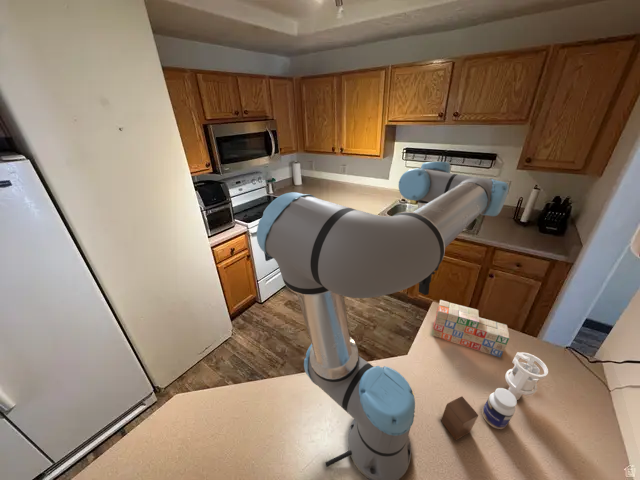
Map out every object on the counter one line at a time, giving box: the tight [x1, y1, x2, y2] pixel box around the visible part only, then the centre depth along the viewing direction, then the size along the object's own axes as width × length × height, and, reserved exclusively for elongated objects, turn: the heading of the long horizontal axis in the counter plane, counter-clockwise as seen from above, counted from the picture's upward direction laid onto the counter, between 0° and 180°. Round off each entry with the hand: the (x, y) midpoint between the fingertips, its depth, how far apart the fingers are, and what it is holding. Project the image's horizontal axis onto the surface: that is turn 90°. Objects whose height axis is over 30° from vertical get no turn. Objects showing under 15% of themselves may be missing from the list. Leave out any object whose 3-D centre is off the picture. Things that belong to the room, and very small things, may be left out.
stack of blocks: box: [431, 299, 510, 358], centre depth 89 cm, size 21×6×12 cm, turn 63°
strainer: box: [504, 351, 549, 400], centre depth 71 cm, size 7×7×15 cm
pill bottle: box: [481, 387, 518, 430], centre depth 67 cm, size 6×6×10 cm
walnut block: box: [440, 396, 479, 441], centre depth 66 cm, size 5×5×8 cm
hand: (423, 292), depth 80 cm, fingers closed
